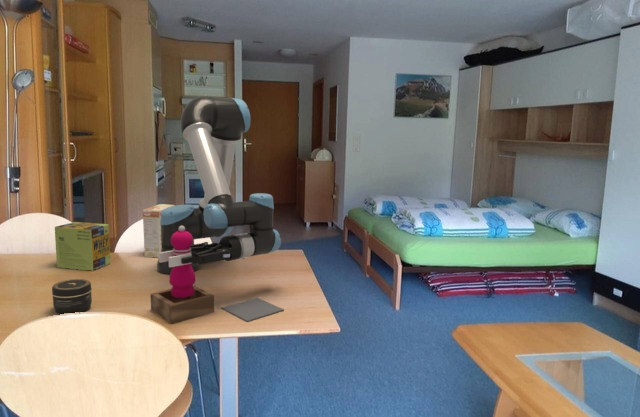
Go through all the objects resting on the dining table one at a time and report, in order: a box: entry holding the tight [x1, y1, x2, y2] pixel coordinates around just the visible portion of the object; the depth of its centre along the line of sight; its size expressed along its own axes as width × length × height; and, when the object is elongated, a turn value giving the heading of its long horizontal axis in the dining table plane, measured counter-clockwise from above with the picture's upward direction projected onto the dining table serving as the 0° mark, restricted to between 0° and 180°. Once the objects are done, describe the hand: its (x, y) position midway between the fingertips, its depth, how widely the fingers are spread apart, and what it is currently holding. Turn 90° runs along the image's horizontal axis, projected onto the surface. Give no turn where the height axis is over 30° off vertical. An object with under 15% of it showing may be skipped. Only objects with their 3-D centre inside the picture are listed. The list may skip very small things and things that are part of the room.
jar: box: [51, 278, 93, 315], centre depth 138 cm, size 10×10×8 cm
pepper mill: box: [168, 226, 197, 298], centre depth 136 cm, size 7×7×20 cm
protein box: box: [54, 221, 112, 272], centre depth 179 cm, size 10×15×16 cm
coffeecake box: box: [142, 203, 176, 259], centre depth 200 cm, size 15×7×20 cm, turn 171°
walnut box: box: [150, 284, 215, 325], centre depth 139 cm, size 13×13×5 cm
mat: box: [221, 297, 285, 323], centre depth 142 cm, size 13×13×1 cm
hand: (164, 259), depth 133 cm, fingers closed on pepper mill, 5 cm apart
